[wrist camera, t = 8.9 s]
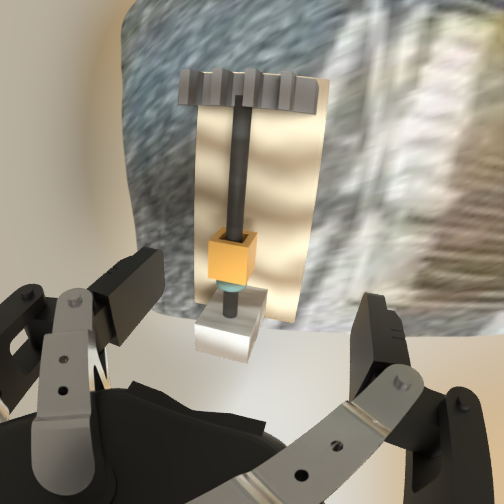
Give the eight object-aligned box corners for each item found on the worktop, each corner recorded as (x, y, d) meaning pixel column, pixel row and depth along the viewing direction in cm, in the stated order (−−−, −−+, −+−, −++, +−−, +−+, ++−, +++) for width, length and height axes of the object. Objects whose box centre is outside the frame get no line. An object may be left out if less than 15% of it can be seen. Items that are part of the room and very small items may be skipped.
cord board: (205, 73, 31) (154, 60, 21) (329, 81, 29) (329, 63, 18) (198, 296, 44) (162, 347, 34) (295, 316, 42) (281, 377, 32)
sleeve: (221, 226, 32) (208, 240, 29) (257, 232, 31) (248, 247, 28) (220, 261, 34) (208, 277, 30) (254, 267, 33) (245, 285, 30)
